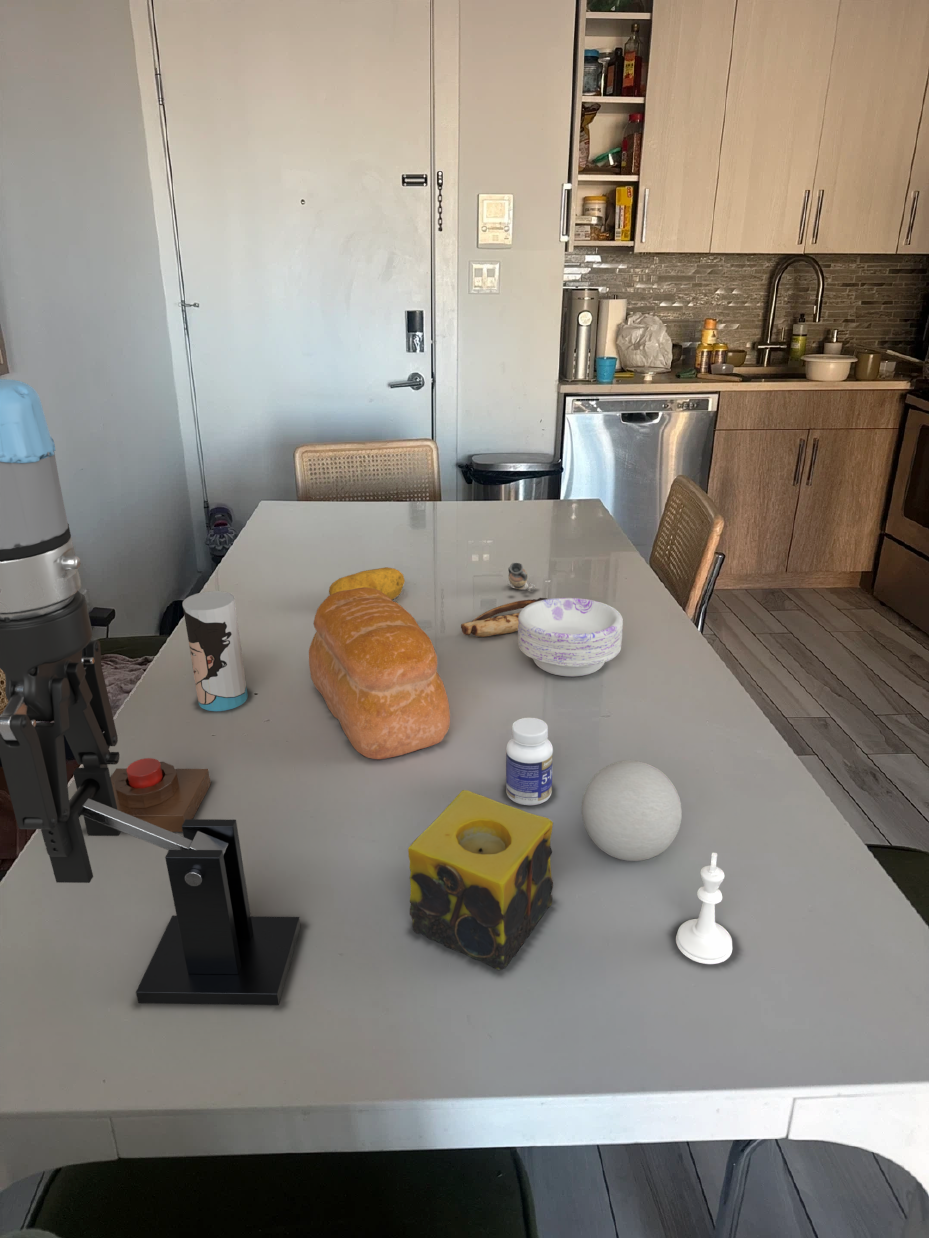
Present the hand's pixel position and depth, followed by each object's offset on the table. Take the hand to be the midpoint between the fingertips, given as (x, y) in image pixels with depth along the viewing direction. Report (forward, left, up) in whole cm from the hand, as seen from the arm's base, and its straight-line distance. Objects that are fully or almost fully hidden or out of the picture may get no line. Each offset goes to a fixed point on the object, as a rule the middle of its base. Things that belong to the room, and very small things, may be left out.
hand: (90, 854), depth 73 cm
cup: (-4, +48, -12) cm, 50 cm away
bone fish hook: (+36, +72, -12) cm, 81 cm away
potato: (+12, +81, -12) cm, 83 cm away
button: (-5, +23, -8) cm, 25 cm away
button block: (-5, +23, -12) cm, 26 cm away
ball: (+48, +16, -12) cm, 52 cm away
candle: (+33, +6, -12) cm, 35 cm away
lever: (+5, 0, +1) cm, 5 cm away
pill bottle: (+38, +26, -12) cm, 47 cm away
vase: (+38, +87, -12) cm, 96 cm away
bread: (+18, +45, -12) cm, 50 cm away
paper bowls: (+45, +59, -12) cm, 75 cm away
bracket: (+10, 0, -12) cm, 15 cm away
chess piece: (+53, +3, -12) cm, 54 cm away
